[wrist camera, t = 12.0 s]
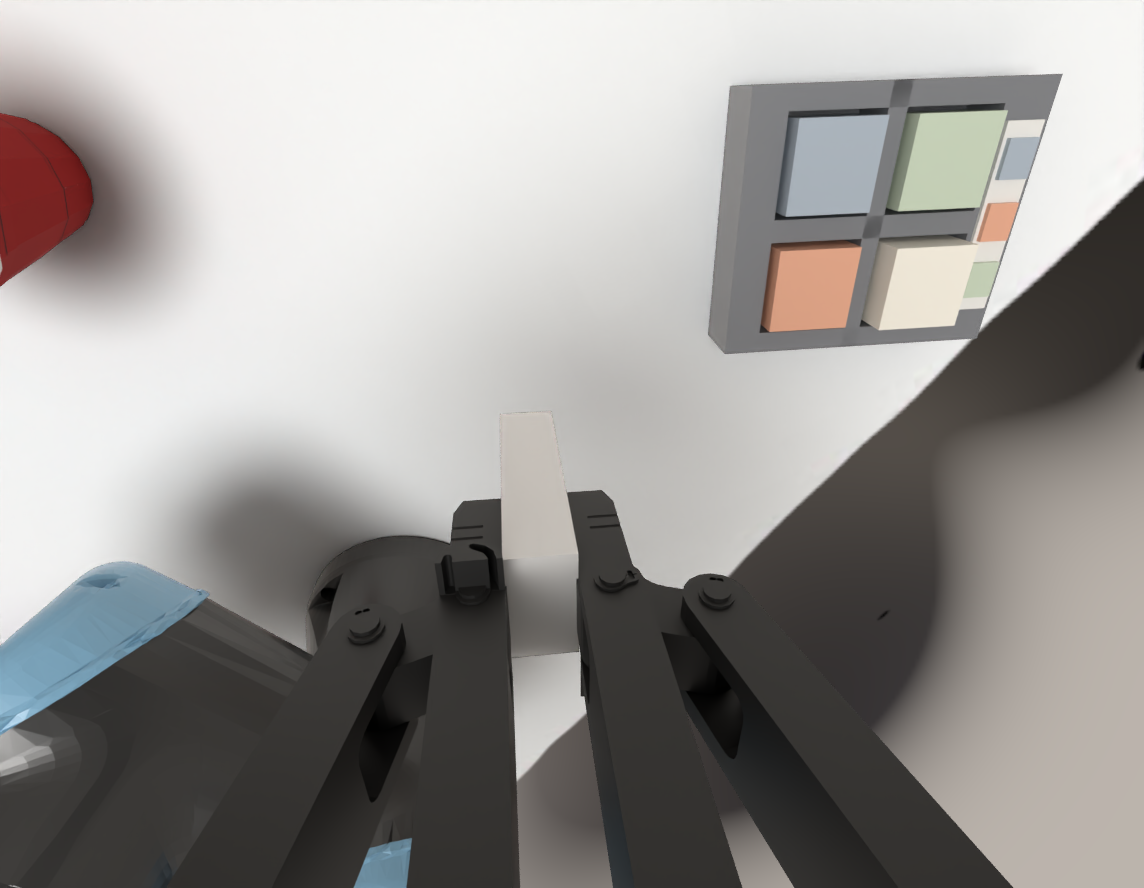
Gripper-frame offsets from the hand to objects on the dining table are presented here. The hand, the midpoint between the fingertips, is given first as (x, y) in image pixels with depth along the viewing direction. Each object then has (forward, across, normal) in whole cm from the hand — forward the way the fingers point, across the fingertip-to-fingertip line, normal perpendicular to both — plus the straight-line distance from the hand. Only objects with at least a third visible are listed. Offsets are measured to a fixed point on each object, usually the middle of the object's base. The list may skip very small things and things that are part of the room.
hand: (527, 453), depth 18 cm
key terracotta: (+20, -17, 0) cm, 26 cm away
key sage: (+19, -23, -7) cm, 31 cm away
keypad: (+21, -20, -3) cm, 29 cm away
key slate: (+19, -17, -6) cm, 27 cm away
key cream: (+19, -23, 0) cm, 30 cm away
